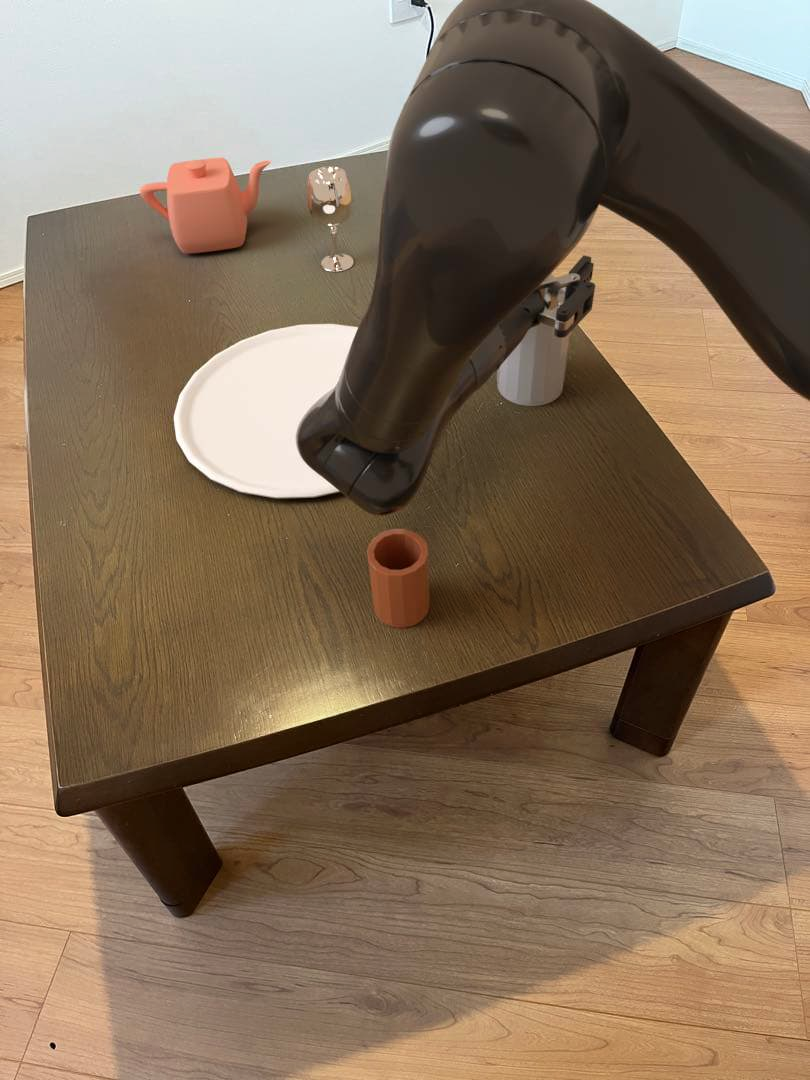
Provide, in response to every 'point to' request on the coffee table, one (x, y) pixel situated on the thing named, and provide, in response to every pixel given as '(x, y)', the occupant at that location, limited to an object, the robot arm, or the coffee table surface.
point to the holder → (399, 577)
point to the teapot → (205, 204)
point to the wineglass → (331, 209)
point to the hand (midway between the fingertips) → (546, 253)
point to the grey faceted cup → (535, 367)
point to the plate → (261, 409)
